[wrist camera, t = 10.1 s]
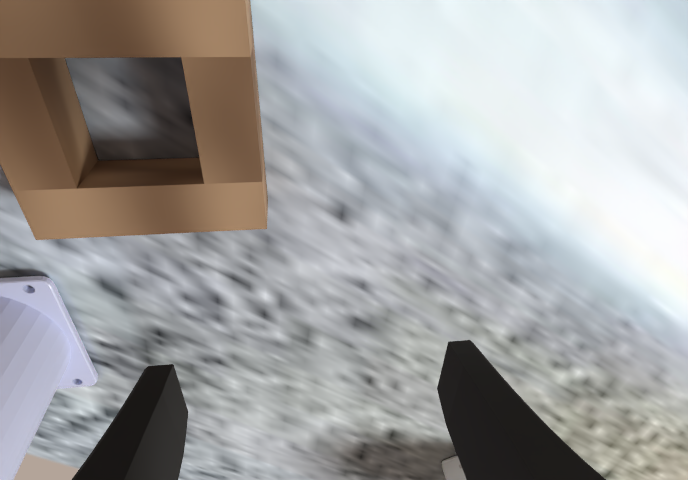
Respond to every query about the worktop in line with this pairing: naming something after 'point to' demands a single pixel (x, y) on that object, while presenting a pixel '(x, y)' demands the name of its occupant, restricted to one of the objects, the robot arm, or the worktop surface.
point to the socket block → (142, 174)
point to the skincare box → (453, 469)
